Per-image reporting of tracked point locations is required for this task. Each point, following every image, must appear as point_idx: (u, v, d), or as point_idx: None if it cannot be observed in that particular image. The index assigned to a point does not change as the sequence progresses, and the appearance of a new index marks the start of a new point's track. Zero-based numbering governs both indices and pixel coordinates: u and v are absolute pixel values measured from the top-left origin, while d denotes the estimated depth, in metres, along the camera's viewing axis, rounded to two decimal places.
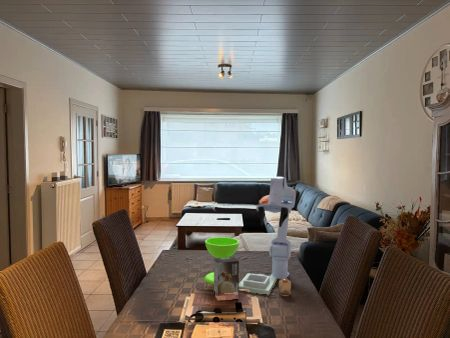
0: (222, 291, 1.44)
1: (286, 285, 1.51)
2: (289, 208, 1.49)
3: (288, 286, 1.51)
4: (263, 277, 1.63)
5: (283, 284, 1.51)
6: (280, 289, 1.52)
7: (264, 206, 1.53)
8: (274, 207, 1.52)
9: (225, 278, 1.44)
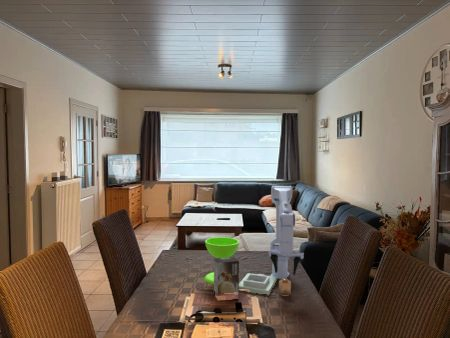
0: (222, 291, 1.44)
1: (286, 285, 1.51)
2: (301, 256, 1.49)
3: (288, 286, 1.51)
4: (263, 277, 1.63)
5: (283, 284, 1.51)
6: (280, 289, 1.52)
7: None
8: None
9: (225, 278, 1.44)
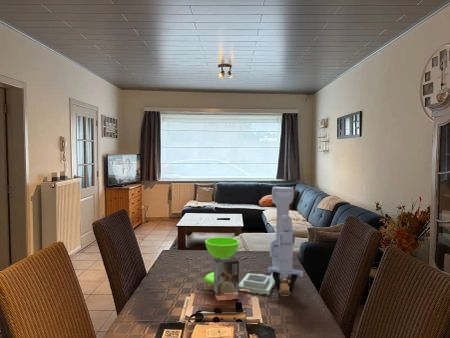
0: (222, 291, 1.44)
1: (286, 285, 1.51)
2: (301, 274, 1.50)
3: (288, 286, 1.51)
4: (263, 277, 1.63)
5: (283, 284, 1.51)
6: (280, 289, 1.52)
7: None
8: None
9: (225, 278, 1.44)
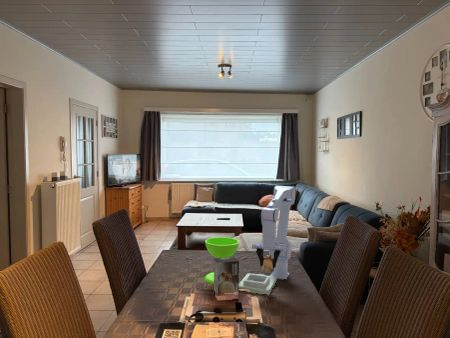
0: (222, 291, 1.44)
1: (269, 261, 1.54)
2: (283, 250, 1.54)
3: (271, 262, 1.54)
4: (263, 277, 1.63)
5: (266, 260, 1.54)
6: (264, 265, 1.55)
7: None
8: None
9: (225, 278, 1.44)
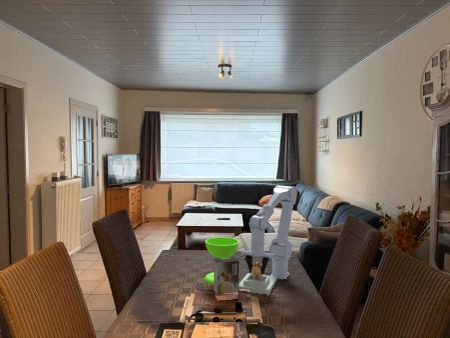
0: (222, 291, 1.44)
1: (258, 268, 1.57)
2: (272, 257, 1.56)
3: (260, 269, 1.57)
4: (263, 277, 1.63)
5: (255, 267, 1.57)
6: (252, 272, 1.58)
7: None
8: None
9: (225, 278, 1.44)
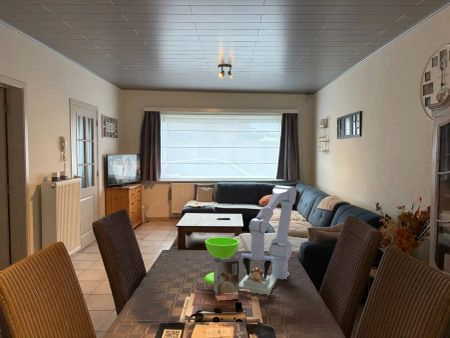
0: (222, 291, 1.44)
1: (258, 274, 1.57)
2: (272, 260, 1.56)
3: (260, 275, 1.58)
4: (263, 277, 1.63)
5: (255, 273, 1.57)
6: (252, 278, 1.58)
7: None
8: None
9: (225, 278, 1.44)
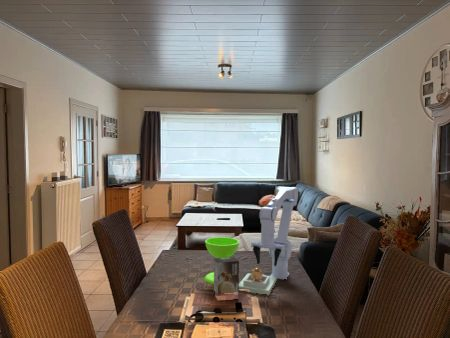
0: (222, 291, 1.44)
1: (258, 274, 1.57)
2: (282, 248, 1.56)
3: (260, 275, 1.58)
4: (263, 277, 1.63)
5: (255, 273, 1.57)
6: (252, 278, 1.58)
7: None
8: None
9: (225, 278, 1.44)
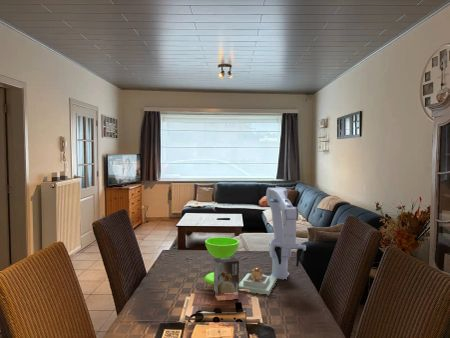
0: (222, 291, 1.44)
1: (258, 274, 1.57)
2: (304, 248, 1.56)
3: (260, 275, 1.58)
4: (263, 277, 1.63)
5: (255, 273, 1.57)
6: (252, 278, 1.58)
7: None
8: None
9: (225, 278, 1.44)
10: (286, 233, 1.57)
